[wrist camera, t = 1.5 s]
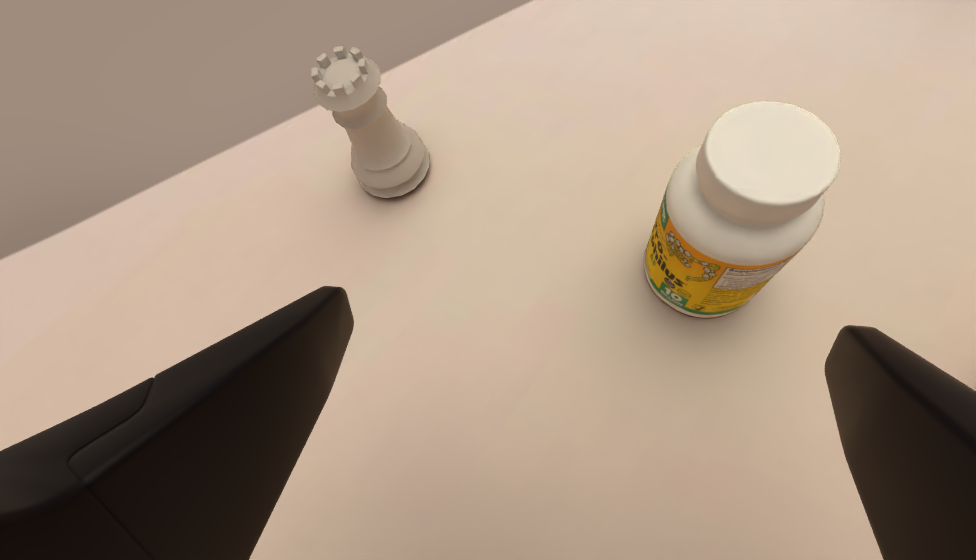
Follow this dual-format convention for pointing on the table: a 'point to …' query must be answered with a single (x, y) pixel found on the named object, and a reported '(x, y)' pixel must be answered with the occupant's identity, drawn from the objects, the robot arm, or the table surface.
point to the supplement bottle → (740, 207)
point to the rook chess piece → (370, 124)
